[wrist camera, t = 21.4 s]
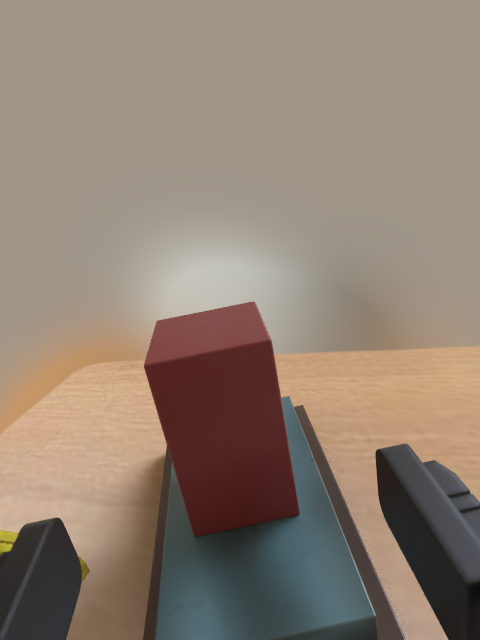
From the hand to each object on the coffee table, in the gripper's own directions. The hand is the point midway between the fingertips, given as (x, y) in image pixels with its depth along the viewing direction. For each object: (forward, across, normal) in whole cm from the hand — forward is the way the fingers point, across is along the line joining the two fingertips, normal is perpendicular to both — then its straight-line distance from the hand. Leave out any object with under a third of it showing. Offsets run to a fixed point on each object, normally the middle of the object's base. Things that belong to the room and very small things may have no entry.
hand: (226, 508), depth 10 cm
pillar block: (+9, 0, -8) cm, 11 cm away
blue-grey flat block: (+9, 0, -11) cm, 14 cm away
